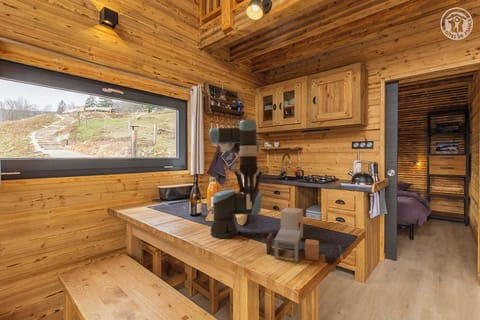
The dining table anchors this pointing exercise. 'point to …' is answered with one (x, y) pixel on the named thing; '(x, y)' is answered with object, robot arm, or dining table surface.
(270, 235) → the sled
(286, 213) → the supplement box
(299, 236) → the tunnel
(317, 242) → the block
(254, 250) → the dining table surface
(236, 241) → the dining table surface
